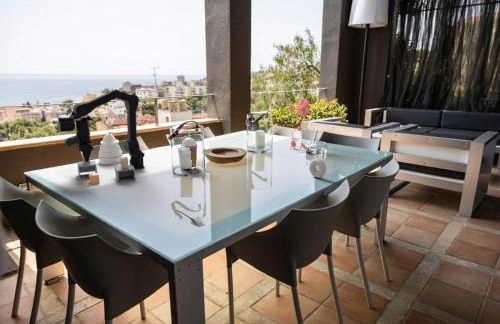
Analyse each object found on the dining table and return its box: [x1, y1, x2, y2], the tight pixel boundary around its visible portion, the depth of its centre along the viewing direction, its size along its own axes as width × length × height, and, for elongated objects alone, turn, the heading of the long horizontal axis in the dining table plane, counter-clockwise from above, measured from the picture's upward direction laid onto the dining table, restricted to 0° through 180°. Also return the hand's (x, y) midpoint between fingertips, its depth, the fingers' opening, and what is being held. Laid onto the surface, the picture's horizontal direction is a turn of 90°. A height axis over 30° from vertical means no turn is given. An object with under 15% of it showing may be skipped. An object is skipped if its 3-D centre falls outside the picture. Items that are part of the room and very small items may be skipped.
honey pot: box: [98, 130, 123, 165], centre depth 198 cm, size 13×13×18 cm
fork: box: [175, 207, 206, 228], centre depth 124 cm, size 3×21×3 cm, turn 36°
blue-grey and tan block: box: [76, 152, 98, 178], centre depth 170 cm, size 8×8×10 cm
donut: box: [308, 157, 327, 179], centre depth 171 cm, size 10×3×10 cm, turn 38°
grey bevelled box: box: [114, 156, 137, 182], centre depth 166 cm, size 8×8×10 cm
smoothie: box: [181, 132, 198, 168], centre depth 183 cm, size 8×8×20 cm
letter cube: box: [88, 172, 100, 185], centre depth 161 cm, size 4×4×4 cm
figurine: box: [288, 98, 316, 152], centre depth 232 cm, size 15×26×35 cm, turn 34°
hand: (86, 161), depth 169 cm, fingers closed on blue-grey and tan block, 3 cm apart
